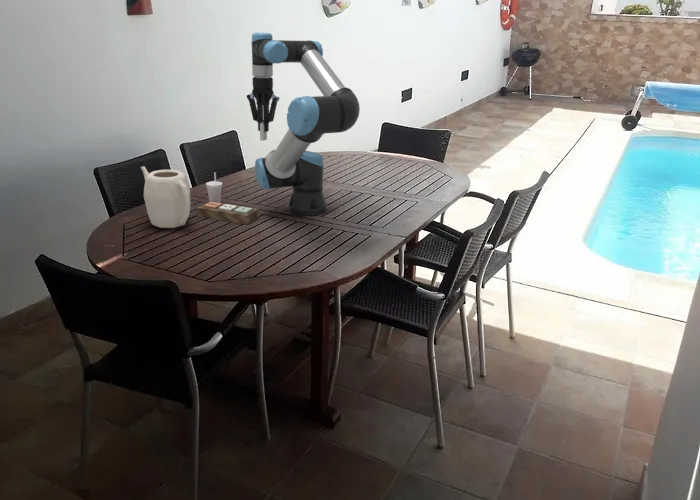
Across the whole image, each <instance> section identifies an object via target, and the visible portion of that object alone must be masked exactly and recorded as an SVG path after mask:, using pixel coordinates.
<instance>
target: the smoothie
mask: <svg viewBox="0 0 700 500" xmlns="http://www.w3.org/2000/svg"><path fill="white" fill-rule="evenodd" d="M213 174H214V175H213V176H214V177H213V178H214V180H213V181H208V182H206V183H205V187H206V190H207V191H206V192H207V195H208V202H210V201H211V202H217V203H221V199H222V189H223V185H224V184H223V182H221V181H217V173H216V172H214V173H213Z"/></svg>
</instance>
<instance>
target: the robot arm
mask: <svg viewBox="0 0 700 500" xmlns="http://www.w3.org/2000/svg"><path fill="white" fill-rule="evenodd" d="M323 54H324V49H323V47H322V44H321V43H320V41H315V40H310V39H309V40H289V39H288V40H282V39H281V40H278V39H277V40H276V39H273V35H272V33H270V32H253V33H252V34H251V62H252V63H251V64H252V65H251V66H252V68H251V69H252V72H251V73H252V74H251V75H252V91H251V93H249V94H247V95H246V98H247V100H248V103H249V107H250V112H251V117H252V121H255V122H257V131H258V132H259V135H260V136H259V141H267V140H268V132H269V129H270V124H269V123H271V122H274V119H275V115H276V109H277V105H278V102H279V101H280V97H279V96H276V95H275V92H274V89H273V88H274V86H273V85H274V79H273V74H274V72H273V71H274V69H273V67H274V64H283V63H285V64H287V63H295V64H296V63H297V64H298V63H300V64H301V66H302V67H303V68H304V70H305V71H306V73H307V74H308V76H309V77H310V78H311V80H312V81H313V83H314V84H315V86H316V87H317V88H318V89H319V91H320V93H321V94H322V95H320V96H319V95H318V96H316V95H315V96H309V95H305V96H300V97H299V96H298V97H295V98H294V99H293V100H291V102H289V105H288V107H287V113H286V124H287V127H288V130H287V131H286V133H285V134H284V136H283V138H282V139H281V141H280V142H279V144H278V146H277V147H276V148H275V149H273V150H271V151H270V152H269V153H267V154H266V156H265V157H259V158H257V159H256V160H255V162H254V171H255V176H256V180H257V184H258V186H259V187H260V189H262V190H271V189H280V188H288V187H289V188H290V187H291V188H292V193H291V195H290V199H289V202H288V205H287V207H288V212H289V213H292V214H294V215H298V216H305V217H306V216H307V217H308V216H311V215H313V216H320V215H322V214H325V213H326V212H327V211H326V210H327V209H328V208H327V205H328V204H327V201H326V199H325V194H324V192H323V191H324V190H323V188H324V187H323V186H324V157H323V156H322V154H320V153H318V152H314V151H311V150H310V151H309V150H307V149H308V147H309V146H310V145H311V144H313V143H316V142H318V141H319V140H320V139H321V138H322V136H323V135H324V134H334V133H335V134H336V133H343V132H347V131H349V130H350V129H352V128H353V126H354V125H355V124H356V123H357V121H358V119H359V116H360V112H361V111H360V110H361V109H360V102H359V99H358V97H357V95H356V94H355V92H354V91H353V90H352V89H351V88H349V87H346V86H345V85H344V84H343V82H342V81H341V79H340V78H339V77H338V75H337V74H336V73H335V72H334V70H333V69H332V68H331V67H330V65H329V63H328V62H327V61H326V60H325V58H324V55H323ZM270 101H271V103H270ZM319 214H320V215H319ZM311 217H312V216H311Z"/></svg>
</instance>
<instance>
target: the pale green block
mask: <svg viewBox="0 0 700 500" xmlns="http://www.w3.org/2000/svg"><path fill="white" fill-rule="evenodd" d="M248 207H249V206H243V207H239V208H237V209H235V210H234V212H236V213H243V214H248V213H249V212H251V211H253V208H254V207H249V208H248Z"/></svg>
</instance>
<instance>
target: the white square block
mask: <svg viewBox="0 0 700 500" xmlns="http://www.w3.org/2000/svg"><path fill="white" fill-rule="evenodd" d="M224 204H225V205H223V206H221V207H219V210H224V211H230V212H231V211H233V210H235V209H237V206H238V205H236V206H235V204H230V203H224ZM229 204H230V205H229Z"/></svg>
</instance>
